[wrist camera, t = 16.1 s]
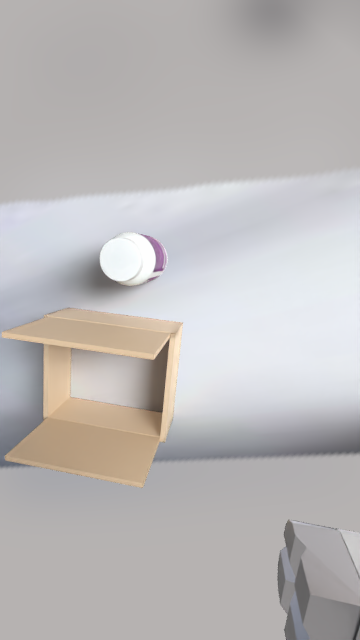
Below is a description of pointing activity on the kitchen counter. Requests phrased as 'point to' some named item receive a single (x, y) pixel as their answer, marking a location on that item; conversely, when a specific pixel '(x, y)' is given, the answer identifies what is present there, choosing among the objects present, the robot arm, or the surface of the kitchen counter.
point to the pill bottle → (133, 258)
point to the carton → (90, 416)
